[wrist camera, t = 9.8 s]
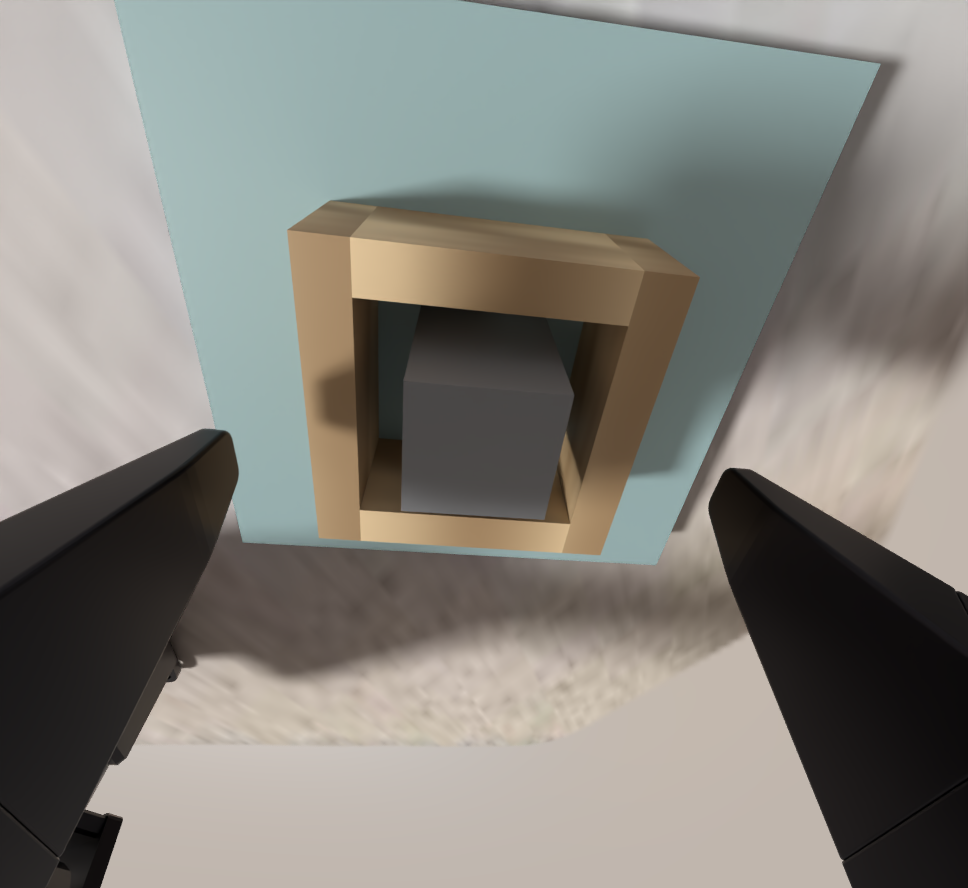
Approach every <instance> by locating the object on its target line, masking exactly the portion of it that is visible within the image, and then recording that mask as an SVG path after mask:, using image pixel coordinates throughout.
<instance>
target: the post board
mask: <svg viewBox="0 0 968 888" xmlns="http://www.w3.org/2000/svg"><path fill="white" fill-rule="evenodd" d="M114 2H115V6H116V10H117V15H118V19H119V23H120V27H121V32H122V36H123V40H124V44H125V48H126V53H127V57H128V61H129V65H130V69H131V74H132V78H133V82H134V86H135V91H136V95H137V99H138V103H139V107H140V112H141V116H142V120H143V124H144V128H145V133H146V137H147V141H148V145H149V150H150V154H151V158H152V162H153V166H154V171H155V175H156V179H157V183H158V187H159V192H160V196H161V200H162V204H163V209H164V213H165V217H166V221H167V225H168V230H169V234H170V238H171V242H172V246H173V251H174V255H175V259H176V263H177V268H178V272H179V276H180V280H181V284H182V289H183V293H184V297H185V301H186V306H187V310H188V314H189V318H190V322H191V327H192V331H193V335H194V339H195V343H196V348H197V352H198V356H199V360H200V365H201V369H202V373H203V377H204V381H205V386H206V390H207V394H208V398H209V402H210V407H211V411H212V415H213V419H214V424H215V428H216V430H226V431H228V432H229V433H230V434H231V436H232V439H233V444H234V448H235V453H236V458H237V462H238V467H239V478H238V482H237V485H236V488H235V491H234V494H233V496H232V499H233V504H234V508H235V512H236V516H237V521H238V525H239V529H240V533H241V537H242V542H244V543H262V544H280V545H298V546H317V547H335V548H353V549H371V550H389V551H407V552H426V553H444V554H462V555H480V556H498V557H517V558H535V559H553V560H571V561H589V562H608V563H626V564H644V565H656V564H657V562H658V560H659V558H660V555H661V553H662V551H663V549H664V546H665V544H666V542H667V540H668V538H669V535H670V533H671V531H672V529H673V526H674V524H675V522H676V520H677V517H678V515H679V513H680V511H681V509H682V506H683V504H684V502H685V500H686V497H687V495H688V493H689V491H690V488H691V486H692V484H693V482H694V480H695V477H696V475H697V473H698V471H699V468H700V466H701V464H702V462H703V459H704V457H705V455H706V453H707V451H708V448H709V446H710V444H711V442H712V439H713V437H714V435H715V433H716V430H717V428H718V426H719V424H720V422H721V419H722V417H723V415H724V413H725V410H726V408H727V406H728V404H729V401H730V399H731V397H732V395H733V393H734V390H735V388H736V386H737V384H738V381H739V379H740V377H741V375H742V372H743V370H744V368H745V366H746V364H747V361H748V359H749V357H750V355H751V352H752V350H753V348H754V346H755V343H756V341H757V339H758V337H759V335H760V332H761V330H762V328H763V326H764V323H765V321H766V319H767V317H768V314H769V312H770V310H771V308H772V306H773V303H774V301H775V299H776V297H777V294H778V292H779V290H780V288H781V285H782V283H783V281H784V279H785V277H786V274H787V272H788V270H789V268H790V265H791V263H792V261H793V259H794V256H795V254H796V252H797V250H798V248H799V245H800V243H801V241H802V239H803V236H804V234H805V232H806V230H807V227H808V225H809V223H810V221H811V219H812V216H813V214H814V212H815V210H816V207H817V205H818V203H819V201H820V198H821V196H822V194H823V192H824V190H825V187H826V185H827V183H828V181H829V178H830V176H831V174H832V172H833V169H834V167H835V165H836V163H837V161H838V158H839V156H840V154H841V152H842V149H843V147H844V145H845V143H846V140H847V138H848V136H849V134H850V132H851V129H852V127H853V125H854V123H855V120H856V118H857V116H858V114H859V111H860V109H861V107H862V105H863V103H864V100H865V98H866V96H867V94H868V91H869V89H870V87H871V85H872V82H873V80H874V78H875V76H876V74H877V71H878V69H879V67H880V65H881V64H879V63H872V62H866V61H859V60H852V59H846V58H839V57H832V56H826V55H819V54H812V53H806V52H799V51H792V50H786V49H779V48H772V47H766V46H759V45H752V44H746V43H739V42H732V41H726V40H719V39H713V38H706V37H699V36H693V35H686V34H679V33H673V32H666V31H659V30H653V29H646V28H639V27H633V26H626V25H619V24H613V23H606V22H599V21H593V20H586V19H579V18H573V17H566V16H559V15H553V14H546V13H539V12H533V11H526V10H519V9H513V8H506V7H499V6H493V5H486V4H479V3H473V2H466V1H459V0H114ZM328 201H338V202H347V203H355V204H363V205H372V206H380V207H388V208H397V209H405V210H413V211H421V212H430V213H438V214H446V215H455V216H463V217H471V218H479V219H488V220H496V221H504V222H513V223H521V224H529V225H538V226H546V227H554V228H562V229H571V230H579V231H587V232H596V233H604V234H612V235H620V236H629V237H637V238H645V239H649V240H650V241H652V242H653V243H654V244H656V245H657V246H658V247H660V248H661V249H662V250H664V251H665V252H667V253H668V254H669V255H671V256H672V257H673V258H675V259H676V260H677V261H679V262H680V263H681V264H683V265H684V266H685V267H687V268H688V269H690V270H691V271H692V272H694V273H695V274H696V275H698V276H699V277H700V279H699V282H698V285H697V287H696V290H695V293H694V296H693V298H692V301H691V304H690V307H689V310H688V312H687V315H686V318H685V321H684V324H683V326H682V329H681V332H680V335H679V338H678V340H677V343H676V346H675V349H674V351H673V354H672V357H671V360H670V363H669V365H668V368H667V371H666V374H665V377H664V379H663V382H662V385H661V388H660V390H659V393H658V396H657V399H656V402H655V404H654V407H653V410H652V413H651V416H650V418H649V421H648V424H647V427H646V430H645V432H644V435H643V438H642V441H641V443H640V446H639V449H638V452H637V455H636V457H635V460H634V463H633V466H632V469H631V471H630V474H629V477H628V480H627V482H626V485H625V488H624V491H623V494H622V496H621V499H620V502H619V505H618V508H617V510H616V513H615V516H614V519H613V522H612V524H611V527H610V530H609V533H608V535H607V538H606V541H605V544H604V547H603V549H602V552H601V555H586V554H569V553H553V552H537V551H520V550H504V549H488V548H471V547H455V546H439V545H422V544H406V543H389V542H373V541H357V540H340V539H324V538H319V535H318V525H317V515H316V506H315V496H314V486H313V477H312V467H311V457H310V448H309V438H308V428H307V419H306V409H305V399H304V390H303V380H302V370H301V361H300V351H299V341H298V332H297V322H296V312H295V303H294V293H293V283H292V274H291V264H290V254H289V245H288V235H287V230H288V229H289V228H291V227H292V226H293V225H295V224H296V223H298V222H299V221H301V220H302V219H304V218H305V217H307V216H308V215H309V214H311V213H312V212H314V211H315V210H317V209H318V208H320V207H321V206H323V205H324V204H325V203H327V202H328ZM583 323H584V322H582V321H573V320H563V319H554V318H544V317H534V316H525V315H515V314H505V313H496V312H486V311H477V310H467V309H457V308H448V307H438V306H428V305H419V304H409V303H400V302H390V301H380V300H378V362H379V438H384V439H396V440H402V488H401V511H409V512H425V513H442V514H458V515H474V516H490V517H506V518H523V519H539V520H544V519H545V515H546V511H547V507H548V503H549V499H550V494H551V490H552V486H553V482H554V478H555V474H556V470H557V466H558V461H559V457H560V453H561V449H562V445H563V441H564V437H565V432H566V428H567V424H568V420H569V416H570V412H571V408H572V404H573V399H574V393H573V390H572V387H571V385H570V382H569V381H570V377H571V373H572V369H573V364H574V360H575V356H576V352H577V348H578V343H579V339H580V335H581V331H582V327H583Z"/></svg>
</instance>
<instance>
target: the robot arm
mask: <svg viewBox="0 0 968 888" xmlns="http://www.w3.org/2000/svg"><path fill="white" fill-rule="evenodd" d="M238 478H239V467H238V462H237V458H236V453H235V448H234V444H233V439H232V436H231V434H230V433H229V432H228V431H226V430H216V429H201V430H199V431H197V432H194V433H192V434H190V435H188V436H186V437H184V438H181V439H179V440H177V441H175V442H173V443H171V444H168V445H166V446H164V447H162V448H160V449H157V450H155V451H153V452H151V453H149V454H147V455H144V456H142V457H140V458H138V459H136V460H134V461H131V462H129V463H127V464H125V465H123V466H120V467H118V468H116V469H114V470H112V471H110V472H107V473H105V474H103V475H101V476H99V477H96V478H94V479H92V480H90V481H88V482H86V483H83V484H81V485H79V486H77V487H75V488H73V489H70V490H68V491H66V492H64V493H62V494H59V495H57V496H55V497H53V498H51V499H49V500H46V501H44V502H42V503H40V504H38V505H36V506H33V507H31V508H29V509H27V510H25V511H22V512H20V513H18V514H16V515H14V516H12V517H9V518H7V519H5V520H3V521H1V522H0V888H100V887H101V884H102V881H103V878H104V875H105V872H106V869H107V866H108V863H109V860H110V857H111V854H112V851H113V848H114V845H115V842H116V839H117V836H118V833H119V830H120V827H121V824H122V821H123V818H122V817H119V816H116V815H113V814H110V813H106V814H104V815H101V814H98V813H94V812H91V811H88V810H85V809H86V807H87V805H88V803H89V801H90V799H91V798H92V796H93V794H94V792H95V790H96V788H97V786H98V785H99V783H100V781H101V779H102V777H103V776H104V774H105V772H106V770H107V768H108V766H109V765H118V764H120V763H121V762H122V761H123V760H124V759H126V758H127V756H128V754H129V752H130V750H131V748H132V746H133V745H134V743H135V741H136V739H137V737H138V735H139V733H140V731H141V729H142V727H143V725H144V723H145V722H146V720H147V718H148V716H149V714H150V712H151V710H152V708H153V706H154V704H155V702H156V701H157V699H158V697H159V695H160V693H161V691H162V689H163V687H164V685H165V683H166V682H173V681H175V680H176V679H177V677H178V675H179V673H180V672H181V667H180V665H179V662H178V660H177V658H176V655H175V653H174V650H173V648H172V646H171V643H170V641H169V640H170V638H171V636H172V634H173V632H174V630H175V628H176V626H177V624H178V622H179V620H180V618H181V616H182V614H183V612H184V610H185V608H186V606H187V604H188V602H189V600H190V598H191V596H192V594H193V592H194V590H195V588H196V585H197V583H198V581H199V579H200V577H201V575H202V573H203V571H204V569H205V567H206V565H207V563H208V561H209V559H210V557H211V555H212V552H213V549H214V547H215V544H216V542H217V539H218V536H219V533H220V530H221V527H222V525H223V522H224V519H225V516H226V513H227V511H228V508H229V505H230V502H231V499H232V496H233V494H234V491H235V488H236V485H237V482H238ZM708 509H709V516H710V519H711V523H712V526H713V530H714V533H715V537H716V540H717V544H718V547H719V551H720V554H721V558H722V561H723V565H724V568H725V572H726V575H727V578H728V581H729V584H730V587H731V589H732V592H733V595H734V597H735V600H736V602H737V605H738V607H739V610H740V612H741V615H742V617H743V619H744V622H745V624H746V627H747V629H748V632H749V634H750V637H751V639H752V642H753V644H754V646H755V649H756V651H757V654H758V656H759V659H760V661H761V664H762V666H763V668H764V671H765V674H766V676H767V678H768V681H769V683H770V686H771V688H772V691H773V693H774V696H775V698H776V701H777V703H778V705H779V708H780V710H781V713H782V715H783V718H784V720H785V723H786V725H787V728H788V730H789V733H790V735H791V738H792V740H793V742H794V745H795V747H796V750H797V752H798V755H799V757H800V760H801V762H802V764H803V767H804V770H805V772H806V774H807V777H808V779H809V782H810V784H811V787H812V789H813V792H814V794H815V797H816V799H817V801H818V804H819V806H820V809H821V811H822V814H823V816H824V819H825V821H826V824H827V826H828V828H829V831H830V834H831V836H832V838H833V841H834V843H835V846H836V848H837V850H838V853H839V856H840V858H841V859H842V860H843V862H842V863H843V866H844V869H845V871H846V874H847V876H848V879H849V881H850V884H851V886H852V888H968V596H967V595H965V594H964V593H962V592H959V591H955V589H954V588H953V587H951V586H950V585H948V584H946V583H944V582H943V581H941V580H939V579H938V578H936V577H934V576H932V575H931V574H929V573H927V572H926V571H924V570H922V569H920V568H918V567H917V566H915V565H914V564H912V563H910V562H908V561H907V560H905V559H903V558H902V557H900V556H898V555H896V554H895V553H893V552H891V551H890V550H888V549H886V548H884V547H883V546H881V545H879V544H878V543H876V542H874V541H872V540H871V539H869V538H867V537H866V536H864V535H862V534H860V533H859V532H857V531H855V530H854V529H852V528H850V527H848V526H847V525H845V524H843V523H842V522H840V521H838V520H836V519H835V518H833V517H831V516H830V515H828V514H826V513H824V512H823V511H821V510H819V509H818V508H816V507H814V506H812V505H811V504H809V503H807V502H806V501H804V500H802V499H800V498H799V497H797V496H795V495H794V494H792V493H790V492H788V491H787V490H785V489H783V488H782V487H780V486H778V485H776V484H775V483H773V482H771V481H770V480H768V479H766V478H764V477H763V476H761V475H759V474H758V473H756V472H754V471H752V470H750V469H741V468H729V469H727V470H725V471H724V472H723V474H722V476H721V478H720V480H719V482H718V484H717V486H716V488H715V490H714V492H713V494H712V496H711V498H710V501H709V507H708Z"/></svg>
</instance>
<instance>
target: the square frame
mask: <svg viewBox="0 0 968 888" xmlns="http://www.w3.org/2000/svg"><path fill="white" fill-rule="evenodd" d="M287 235H288V245H289V254H290V264H291V274H292V283H293V293H294V303H295V312H296V322H297V332H298V341H299V351H300V361H301V370H302V380H303V390H304V399H305V409H306V419H307V428H308V438H309V448H310V457H311V467H312V477H313V486H314V496H315V506H316V515H317V525H318V535H319V538H324V539H340V540H357V541H373V542H389V543H406V544H422V545H439V546H455V547H471V548H488V549H504V550H520V551H537V552H553V553H569V554H586V555H601V552H602V549H603V547H604V544H605V541H606V538H607V535H608V533H609V530H610V527H611V524H612V522H613V519H614V516H615V513H616V510H617V508H618V505H619V502H620V499H621V496H622V494H623V491H624V488H625V485H626V482H627V480H628V477H629V474H630V471H631V469H632V466H633V463H634V460H635V457H636V455H637V452H638V449H639V446H640V443H641V441H642V438H643V435H644V432H645V430H646V427H647V424H648V421H649V418H650V416H651V413H652V410H653V407H654V404H655V402H656V399H657V396H658V393H659V390H660V388H661V385H662V382H663V379H664V377H665V374H666V371H667V368H668V365H669V363H670V360H671V357H672V354H673V351H674V349H675V346H676V343H677V340H678V338H679V335H680V332H681V329H682V326H683V324H684V321H685V318H686V315H687V312H688V310H689V307H690V304H691V301H692V298H693V296H694V293H695V290H696V287H697V285H698V282H699V279H700V277H699V276H698V275H696V274H695V273H694V272H692V271H691V270H690V269H688V268H687V267H685V266H684V265H683V264H681V263H680V262H679V261H677V260H676V259H675V258H673V257H672V256H671V255H669V254H668V253H667V252H665V251H664V250H662V249H661V248H660V247H658V246H657V245H656V244H654V243H653V242H652V241H650V240H649V239H645V238H637V237H629V236H620V235H612V234H604V233H596V232H587V231H579V230H571V229H562V228H554V227H546V226H538V225H529V224H521V223H513V222H504V221H496V220H488V219H479V218H471V217H463V216H455V215H446V214H438V213H430V212H421V211H413V210H405V209H397V208H388V207H380V206H372V205H363V204H355V203H347V202H338V201H328V202H327V203H325V204H324V205H323V206H321V207H320V208H318V209H317V210H315V211H314V212H312V213H311V214H309V215H308V216H307V217H305V218H304V219H302V220H301V221H299V222H298V223H296V224H295V225H293V226H292V227H291V228H289V229H288V230H287ZM378 300H380V301H390V302H400V303H409V304H419V305H428V306H438V307H448V308H457V309H467V310H477V311H486V312H496V313H505V314H515V315H525V316H534V317H544V318H554V319H563V320H573V321H582V322H584V323H583V327H582V331H581V335H580V339H579V343H578V348H577V352H576V356H575V360H574V364H573V369H572V373H571V377H570V381H569V382H570V385H571V387H572V390H573V393H574V399H573V404H572V408H571V412H570V416H569V420H568V424H567V428H566V432H565V437H564V441H563V445H562V449H561V453H560V457H559V461H558V466H557V470H556V474H555V478H554V482H553V486H552V490H551V494H550V499H549V503H548V507H547V511H546V515H545V519H544V520H539V519H523V518H506V517H490V516H474V515H458V514H442V513H425V512H409V511H401V488H402V440H396V439H384V438H379V362H378Z"/></svg>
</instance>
